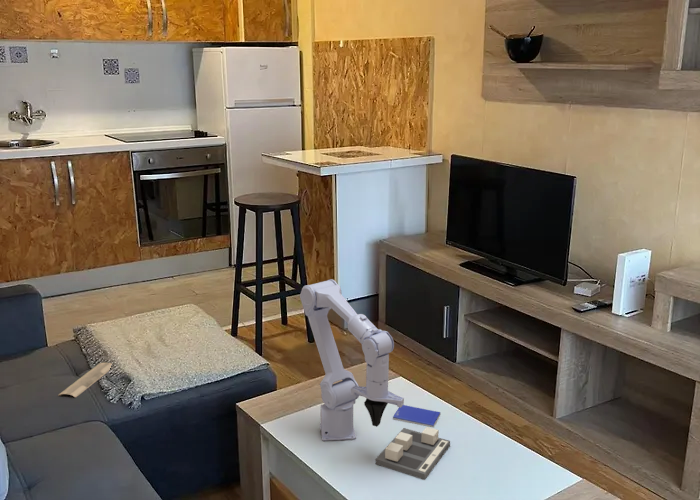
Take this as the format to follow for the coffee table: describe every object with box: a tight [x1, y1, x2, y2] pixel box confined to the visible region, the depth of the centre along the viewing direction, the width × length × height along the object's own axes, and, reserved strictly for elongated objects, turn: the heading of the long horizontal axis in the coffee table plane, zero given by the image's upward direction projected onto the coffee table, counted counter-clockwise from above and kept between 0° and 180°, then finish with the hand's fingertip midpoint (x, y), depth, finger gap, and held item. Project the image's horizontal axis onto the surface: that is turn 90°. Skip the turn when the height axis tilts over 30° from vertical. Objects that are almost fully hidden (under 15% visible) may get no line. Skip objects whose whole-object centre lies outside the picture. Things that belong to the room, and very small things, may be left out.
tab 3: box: [421, 426, 439, 445], centre depth 186 cm, size 4×4×3 cm
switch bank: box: [374, 427, 451, 480], centre depth 183 cm, size 14×18×2 cm
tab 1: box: [384, 441, 403, 462], centre depth 178 cm, size 4×4×3 cm
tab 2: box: [394, 431, 412, 451], centre depth 184 cm, size 4×4×3 cm
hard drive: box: [392, 404, 441, 429], centre depth 202 cm, size 2×8×12 cm
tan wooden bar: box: [57, 362, 113, 398], centre depth 224 cm, size 24×7×2 cm, turn 168°
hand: (376, 424), depth 180 cm, fingers closed
